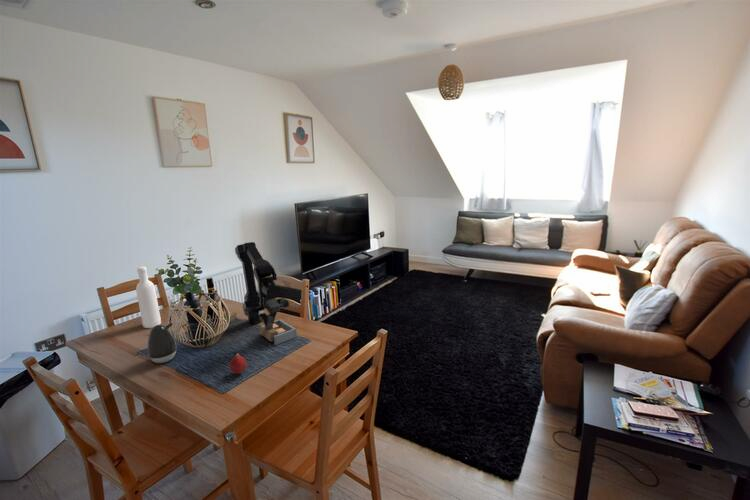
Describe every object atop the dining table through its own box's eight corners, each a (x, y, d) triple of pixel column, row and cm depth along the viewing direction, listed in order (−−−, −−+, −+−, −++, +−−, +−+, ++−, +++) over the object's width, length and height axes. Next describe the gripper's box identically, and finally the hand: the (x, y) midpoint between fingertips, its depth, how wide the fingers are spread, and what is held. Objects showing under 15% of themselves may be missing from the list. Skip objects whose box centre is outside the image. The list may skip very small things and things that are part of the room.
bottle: (139, 328, 174) (127, 269, 167) (149, 321, 181) (138, 265, 174) (155, 328, 174) (144, 269, 167) (164, 321, 181) (154, 264, 174)
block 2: (274, 338, 160) (273, 330, 159) (282, 335, 162) (281, 327, 161) (278, 341, 157) (277, 333, 156) (286, 338, 159) (285, 330, 159)
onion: (237, 379, 130) (235, 359, 128) (227, 375, 133) (225, 355, 131) (250, 371, 134) (248, 352, 133) (241, 367, 137) (238, 348, 136)
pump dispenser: (183, 358, 145) (177, 324, 142) (155, 369, 138) (148, 333, 134) (173, 350, 152) (167, 317, 148) (145, 360, 144) (138, 326, 141)
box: (260, 333, 165) (259, 326, 164) (280, 326, 171) (280, 319, 171) (275, 345, 154) (274, 336, 153) (296, 337, 161) (296, 328, 160)
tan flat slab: (211, 335, 165) (211, 333, 165) (192, 332, 169) (192, 330, 168) (246, 313, 189) (246, 311, 189) (229, 311, 192) (229, 309, 192)
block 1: (267, 334, 164) (266, 326, 163) (275, 331, 167) (274, 323, 166) (271, 336, 161) (270, 328, 161) (279, 334, 164) (278, 326, 163)
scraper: (259, 333, 162) (260, 312, 161) (266, 332, 164) (266, 311, 163) (271, 341, 154) (271, 319, 153) (277, 340, 156) (278, 318, 155)
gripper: (253, 302, 143) (257, 338, 147) (294, 291, 155) (296, 324, 159) (241, 295, 151) (245, 329, 155) (281, 285, 163) (284, 316, 167)
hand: (269, 325), depth 158 cm, fingers closed on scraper, 3 cm apart
